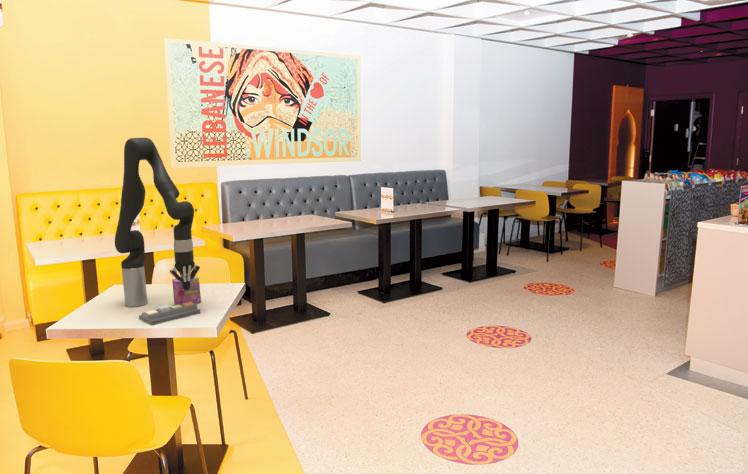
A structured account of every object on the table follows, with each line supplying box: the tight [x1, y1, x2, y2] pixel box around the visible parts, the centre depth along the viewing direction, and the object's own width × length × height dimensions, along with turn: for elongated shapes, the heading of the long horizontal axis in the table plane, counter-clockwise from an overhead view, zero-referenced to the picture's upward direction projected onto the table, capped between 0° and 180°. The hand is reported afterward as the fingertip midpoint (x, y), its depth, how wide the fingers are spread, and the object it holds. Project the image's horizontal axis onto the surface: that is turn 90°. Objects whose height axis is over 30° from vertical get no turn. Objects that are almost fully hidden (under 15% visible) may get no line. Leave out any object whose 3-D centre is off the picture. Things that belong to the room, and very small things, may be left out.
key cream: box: [145, 309, 158, 315], centre depth 227 cm, size 4×4×2 cm
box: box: [171, 275, 202, 305], centre depth 249 cm, size 10×6×12 cm, turn 126°
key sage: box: [169, 304, 183, 310], centre depth 234 cm, size 4×4×2 cm
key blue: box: [156, 304, 171, 312], centre depth 230 cm, size 4×4×2 cm
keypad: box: [138, 302, 201, 326], centre depth 233 cm, size 12×21×3 cm, turn 135°
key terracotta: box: [182, 302, 194, 307], centre depth 237 cm, size 4×4×2 cm
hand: (186, 289), depth 237 cm, fingers closed
